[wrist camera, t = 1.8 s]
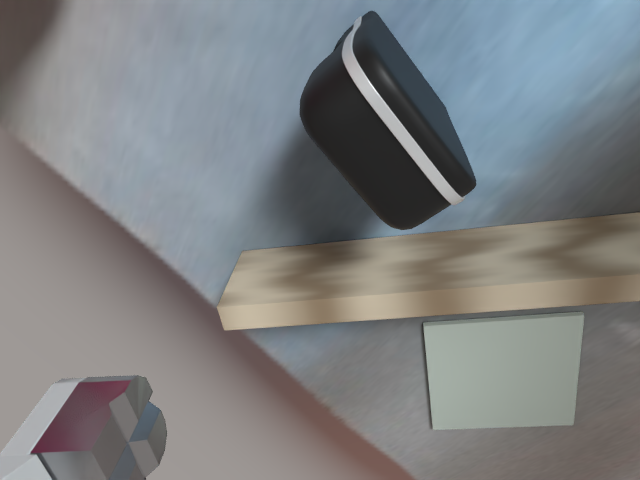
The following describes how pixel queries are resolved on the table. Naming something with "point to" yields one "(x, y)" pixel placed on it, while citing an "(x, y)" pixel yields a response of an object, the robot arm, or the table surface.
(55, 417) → the robot arm
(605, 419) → the table surface
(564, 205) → the table surface
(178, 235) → the table surface
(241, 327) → the wooden plank
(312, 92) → the battery charger
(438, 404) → the mat
